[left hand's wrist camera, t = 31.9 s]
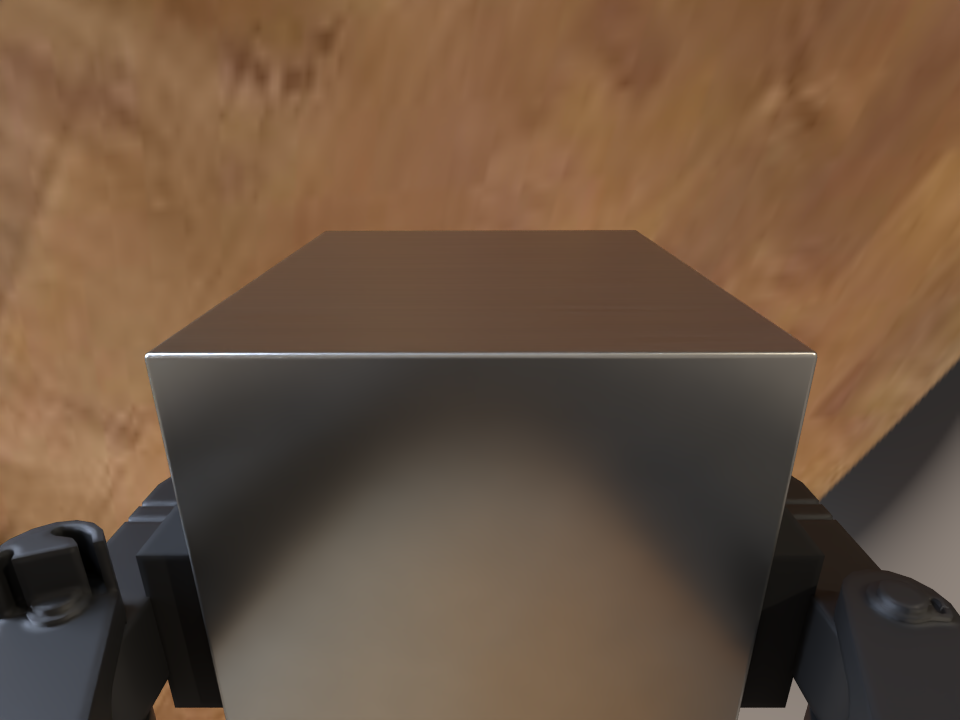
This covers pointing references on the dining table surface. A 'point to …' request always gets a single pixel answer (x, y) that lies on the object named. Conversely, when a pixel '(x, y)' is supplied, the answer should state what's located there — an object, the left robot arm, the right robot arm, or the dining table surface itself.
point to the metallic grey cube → (481, 478)
